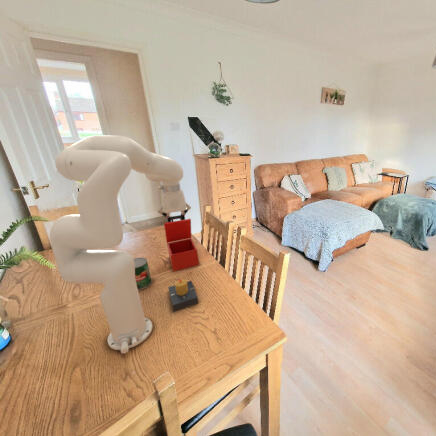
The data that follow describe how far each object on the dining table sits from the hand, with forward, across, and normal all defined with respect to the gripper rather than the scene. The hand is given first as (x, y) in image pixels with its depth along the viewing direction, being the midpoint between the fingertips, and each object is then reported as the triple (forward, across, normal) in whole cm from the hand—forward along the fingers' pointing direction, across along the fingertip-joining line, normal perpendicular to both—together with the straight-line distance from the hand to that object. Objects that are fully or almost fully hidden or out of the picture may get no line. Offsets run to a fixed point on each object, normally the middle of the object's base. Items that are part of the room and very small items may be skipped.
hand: (176, 223), depth 118 cm
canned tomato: (+19, -19, -16) cm, 31 cm away
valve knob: (+16, -5, -34) cm, 38 cm away
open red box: (+19, 0, -6) cm, 20 cm away
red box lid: (+4, 0, -3) cm, 4 cm away
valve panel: (+19, -5, -34) cm, 39 cm away
